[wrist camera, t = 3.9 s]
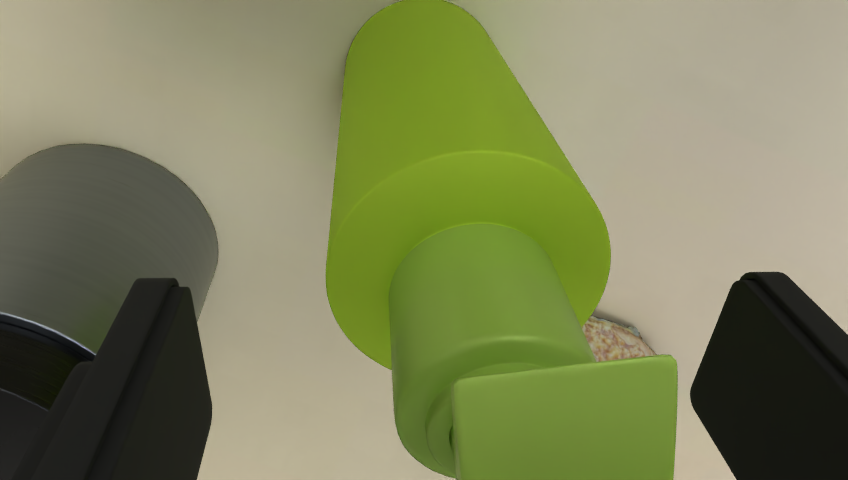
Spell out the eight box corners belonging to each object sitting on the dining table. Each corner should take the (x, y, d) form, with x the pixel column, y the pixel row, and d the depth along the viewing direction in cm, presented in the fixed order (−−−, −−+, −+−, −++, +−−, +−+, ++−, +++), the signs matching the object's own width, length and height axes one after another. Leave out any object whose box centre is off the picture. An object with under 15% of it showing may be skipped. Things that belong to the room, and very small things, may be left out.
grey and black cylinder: (-39, 140, 23) (-344, 363, 13) (203, 145, 24) (87, 357, 14) (30, 321, 28) (-155, 583, 18) (229, 319, 29) (157, 569, 19)
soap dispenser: (496, -42, 21) (967, 372, 5) (497, 140, 25) (759, 730, 8) (328, -26, 21) (187, 462, 4) (356, 155, 25) (334, 785, 8)
